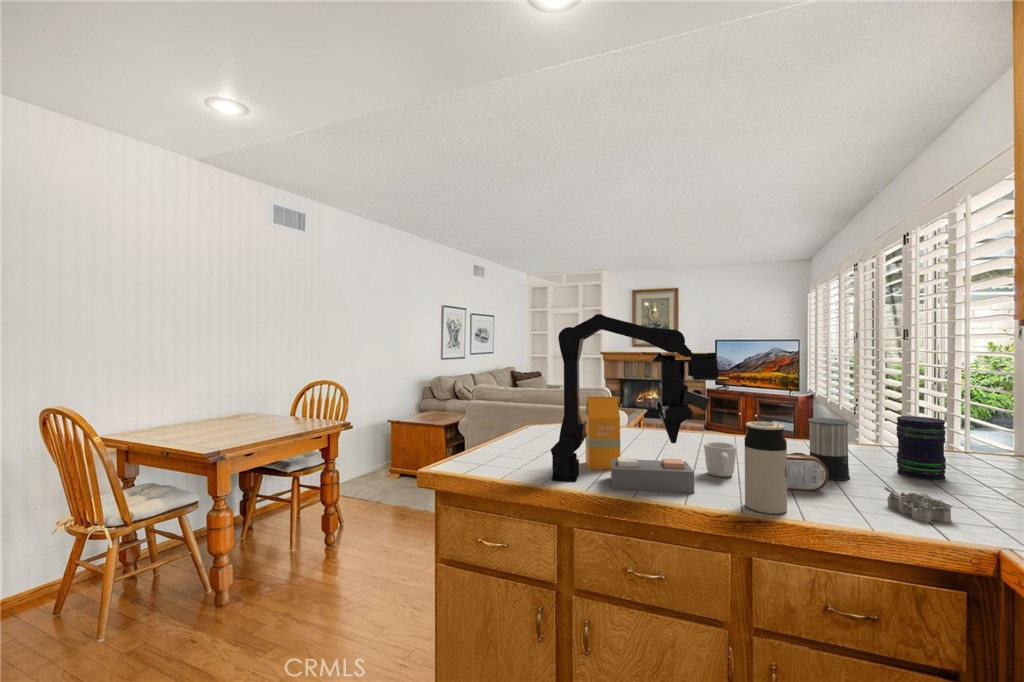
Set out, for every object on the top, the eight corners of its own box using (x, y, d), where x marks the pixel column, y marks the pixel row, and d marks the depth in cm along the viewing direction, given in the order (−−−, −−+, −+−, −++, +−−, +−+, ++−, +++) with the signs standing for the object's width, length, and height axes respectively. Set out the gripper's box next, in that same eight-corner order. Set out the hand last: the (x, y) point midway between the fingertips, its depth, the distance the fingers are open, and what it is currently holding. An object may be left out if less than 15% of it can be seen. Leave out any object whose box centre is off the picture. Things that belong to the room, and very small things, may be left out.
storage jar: (904, 478, 122) (904, 420, 122) (890, 468, 131) (890, 415, 131) (953, 482, 118) (953, 423, 118) (936, 472, 127) (935, 417, 127)
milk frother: (851, 483, 118) (851, 424, 118) (779, 474, 126) (778, 419, 127) (847, 470, 130) (846, 416, 130) (781, 462, 139) (781, 412, 139)
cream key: (618, 477, 117) (618, 461, 117) (617, 472, 121) (617, 456, 121) (637, 478, 116) (637, 462, 116) (636, 473, 120) (636, 457, 120)
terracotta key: (664, 479, 115) (664, 463, 115) (662, 474, 119) (662, 458, 119) (684, 480, 114) (684, 463, 114) (681, 474, 118) (681, 459, 118)
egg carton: (881, 504, 103) (881, 486, 103) (919, 506, 102) (919, 487, 102) (916, 522, 93) (916, 502, 93) (959, 524, 92) (958, 503, 92)
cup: (743, 483, 119) (743, 451, 119) (709, 481, 120) (709, 450, 120) (732, 471, 129) (732, 442, 129) (701, 470, 131) (701, 441, 131)
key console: (612, 489, 114) (611, 468, 114) (610, 477, 124) (610, 458, 124) (694, 493, 111) (694, 472, 111) (686, 480, 121) (686, 461, 121)
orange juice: (620, 469, 132) (620, 398, 132) (589, 469, 132) (588, 398, 132) (615, 462, 140) (614, 395, 140) (585, 462, 140) (584, 395, 140)
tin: (825, 489, 113) (824, 454, 113) (830, 493, 110) (830, 457, 110) (756, 485, 117) (756, 451, 117) (760, 489, 114) (760, 454, 114)
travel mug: (740, 509, 100) (740, 424, 100) (750, 499, 106) (749, 420, 106) (783, 518, 95) (782, 429, 95) (790, 507, 101) (789, 423, 101)
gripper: (716, 383, 106) (717, 452, 106) (698, 377, 124) (699, 436, 124) (665, 383, 108) (665, 451, 108) (655, 377, 126) (655, 435, 126)
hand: (673, 443), depth 117 cm, fingers closed
